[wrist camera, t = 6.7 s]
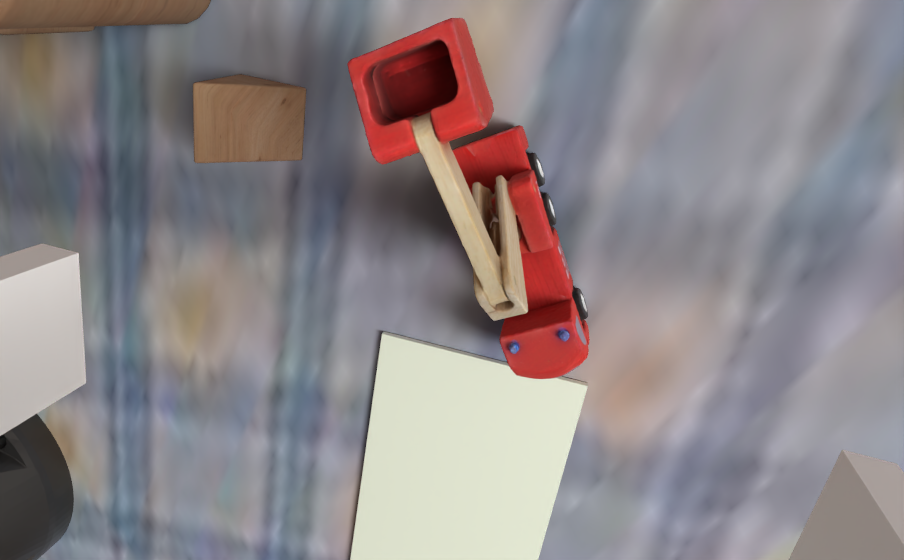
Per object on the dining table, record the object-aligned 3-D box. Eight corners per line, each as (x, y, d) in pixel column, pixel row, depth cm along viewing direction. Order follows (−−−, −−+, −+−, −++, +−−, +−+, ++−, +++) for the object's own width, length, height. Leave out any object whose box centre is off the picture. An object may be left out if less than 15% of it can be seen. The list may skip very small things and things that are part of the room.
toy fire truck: (526, 353, 28) (497, 483, 19) (424, 62, 25) (333, 57, 16) (597, 336, 27) (600, 465, 18) (500, 30, 24) (448, 8, 15)
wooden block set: (-24, 75, 30) (-296, 103, 21) (-59, -132, 26) (-410, -209, 17) (318, 152, 28) (184, 221, 19) (333, -61, 24) (174, -106, 15)
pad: (351, 562, 35) (349, 566, 35) (383, 331, 30) (381, 333, 29) (521, 615, 34) (520, 620, 33) (587, 383, 28) (587, 386, 28)
